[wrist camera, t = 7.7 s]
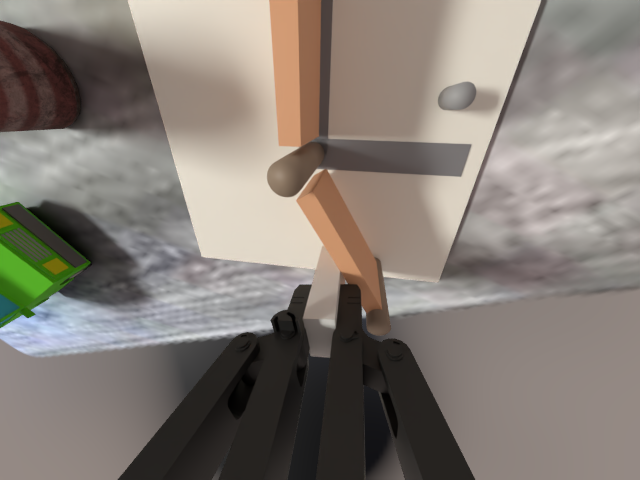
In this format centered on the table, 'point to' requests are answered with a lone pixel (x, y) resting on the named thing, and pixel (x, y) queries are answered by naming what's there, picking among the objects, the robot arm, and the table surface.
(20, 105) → the can
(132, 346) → the table surface
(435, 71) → the card
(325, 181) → the panel
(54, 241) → the toy car
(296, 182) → the fixed panel
